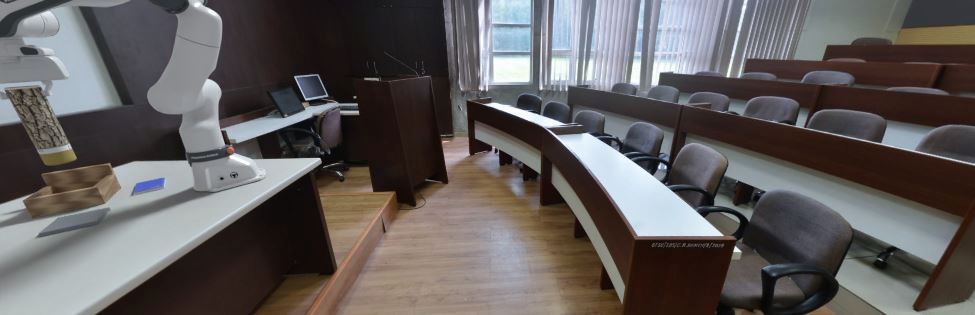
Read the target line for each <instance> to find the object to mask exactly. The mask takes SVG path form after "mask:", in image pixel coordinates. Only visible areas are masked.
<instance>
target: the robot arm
mask: <svg viewBox="0 0 975 315" xmlns="http://www.w3.org/2000/svg"><path fill="white" fill-rule="evenodd" d="M130 1H131V0H0V85H3V84H4V85H5V84H16V83H17V84H19V83H33V82H41V83H42V86H43V85H44V86H45V87H44V89H43V91H41V93H42V95H43V96H46V97H52V96H53V93H52V88H53V85H54V83H53V81H63V80H69V79H70V76H71V75H70V73H69V71H68V69H67V67H66V66H65V64H64V63H63V61H62V60H61V59H60V58H58V57H57V56H54V55H55V51H54V50H53V49H52V48H49V47H44V46H37V45H32V44H26V42H25V40H24V38H27V39H29V38H30V39H31V38H35V39H36V38H37V39H38V38H41V39H42V38H43V39H44V38H49V37H54V36H56V35H57V34H58V33H59V30H60V29H61V28H60V21H59V19H58V18H57V16H56V14H54V13H53V12H52V11H51V10H55V9H59V8H64V7H66V8H67V7H93V8H94V7H96V8H110V7H114V6H115V7H116V6H119V5H123V4H125V3H128V2H130ZM147 1H148V3H149V2H150V3H151V4H152V5H155V6H156V7H159V8H160V9H161V10H162V11H164V12H166V13H167V14H169V15H175V16H176V17H177V29H176V33H175V40H174V43H173V49H172V53H171V57H170V59H169V62H168V63H167V65H166V67H165V69H164V71H163V72H162V73H161V76H160V77H159V79H158V80H157V82H155V84H153V85H152V86H150V88H149V89H148V91H147V95H146V97H147V100H148V103H149V104H150V106H151V107H152V108H153V109H154V110H155V111H157V112H159V113H162V114H166V115H182V120H181V124H180V127H179V129H178V130H179V131H178V133H179V135H180V137H181V141H182V143H183V146H184V149H185V152H184V153H185V158H186V161H187V164H188V165H189V167H191V171H192V172H191V173H192V177H193V179H192V180H193V190H194V191H196V192H210V193H216V192H219V191H224V190H227V189H228V190H229V189H232V188H235V187H238V186H243V185H247V184H251V183H254V182H257V181H261V180H263V179H265V178H266V176H267V171H266V169H265V168H262V167H258V165H257V163H256V162H255V161H254V160H253V159H252V158H250V157H247V156H244V155H241V154H238V153H235V149H234V147H233V144H230V145H229V144H227V143H226V144H225V141H224V137H223V133H222V131H221V127H220V121H219V120H220V119H219V104H220V103H219V102H220V100H221V97H222V89H221V88H220V86H219V84H218V83H217V82H216V81H214V80H212V79H209V76H210V75H212V73H213V72H214V71H215V70H216V68H217V64H218V58H219V54H220V49H221V46H222V37H223V36H222V35H223V21H222V18H221V16H220V14H218V12H216V11H215V10H213V9H211V8H210V7H207V4H208V0H147ZM0 100H2V101H5V100H10V99H9V98H8V96H7V94H6V92H5V91H4V90H2V89H0Z"/></svg>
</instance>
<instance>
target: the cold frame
mask: <svg viewBox="0 0 975 315" xmlns="http://www.w3.org/2000/svg"><path fill="white" fill-rule="evenodd" d="M40 176H41V178H42V179H43V181H44V183H45V185H46V186H44V187H42V188H41V189H39V190H38V191H36V192H34V193H32V194H31V195H29V196H28V197H26V198H24V199H23V200H22V203H23V205H24V207H25V208H26V210H27V211H28V213H29V215H30V217H31V219H34V218H38V217H39V218H40V217H43V216H49V215H53V214H54V213H55V214H59V212H60V213H65V212H69V211H74V210H79V209H83V208H88V207H93V206H98V205H103V204H104V205H105V204H106V203H107V202H108V201H110V200H111V199H112V197H113V196H115V195H116V194H117V193H118V191H120V189H122V185H121V184H120V182H119V180H118V177H117V176H116V172H114V169H113V166H112V165H111V163H110V162H108V163H104V164H96V165H89V166H84V167H77V168H72V169H64V170H57V171H52V172H51V171H50V172H46V173H41V175H40ZM64 211H65V212H64ZM55 214H54V215H55Z"/></svg>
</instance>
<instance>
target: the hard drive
mask: <svg viewBox="0 0 975 315" xmlns="http://www.w3.org/2000/svg"><path fill="white" fill-rule="evenodd" d="M165 179H166V177H158V178H154V179H149V180H144V181H140V182H136V183H135V185H134V189H133V192H132V194H133V196H136V195H142V194H145V193H149V192H153V191H159V190H163V189H165V187H166V180H165Z"/></svg>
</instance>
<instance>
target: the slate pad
mask: <svg viewBox="0 0 975 315" xmlns="http://www.w3.org/2000/svg"><path fill="white" fill-rule="evenodd" d="M110 211H111V208H110V206H108V207H104V208H99V209H94V210H88V211H84V212H79V213H74V214H70V215H64V216H60V217H57V218H56V219H55V220H53V221H52V222H51V223H50V224H48V225H47V226H46V227H45V228H43V229H42V230H41V231H40V232H38V235H39V237H46V236H49V235H54V234H58V233H62V232H63V233H64V232H66V231H67V232H68V231H72V230H77V229H81V228H85V227H90V226H94V225H98V224H99V223H100V221H102V220H103V219H104V217H105V216H107V214H108V213H110Z"/></svg>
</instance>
